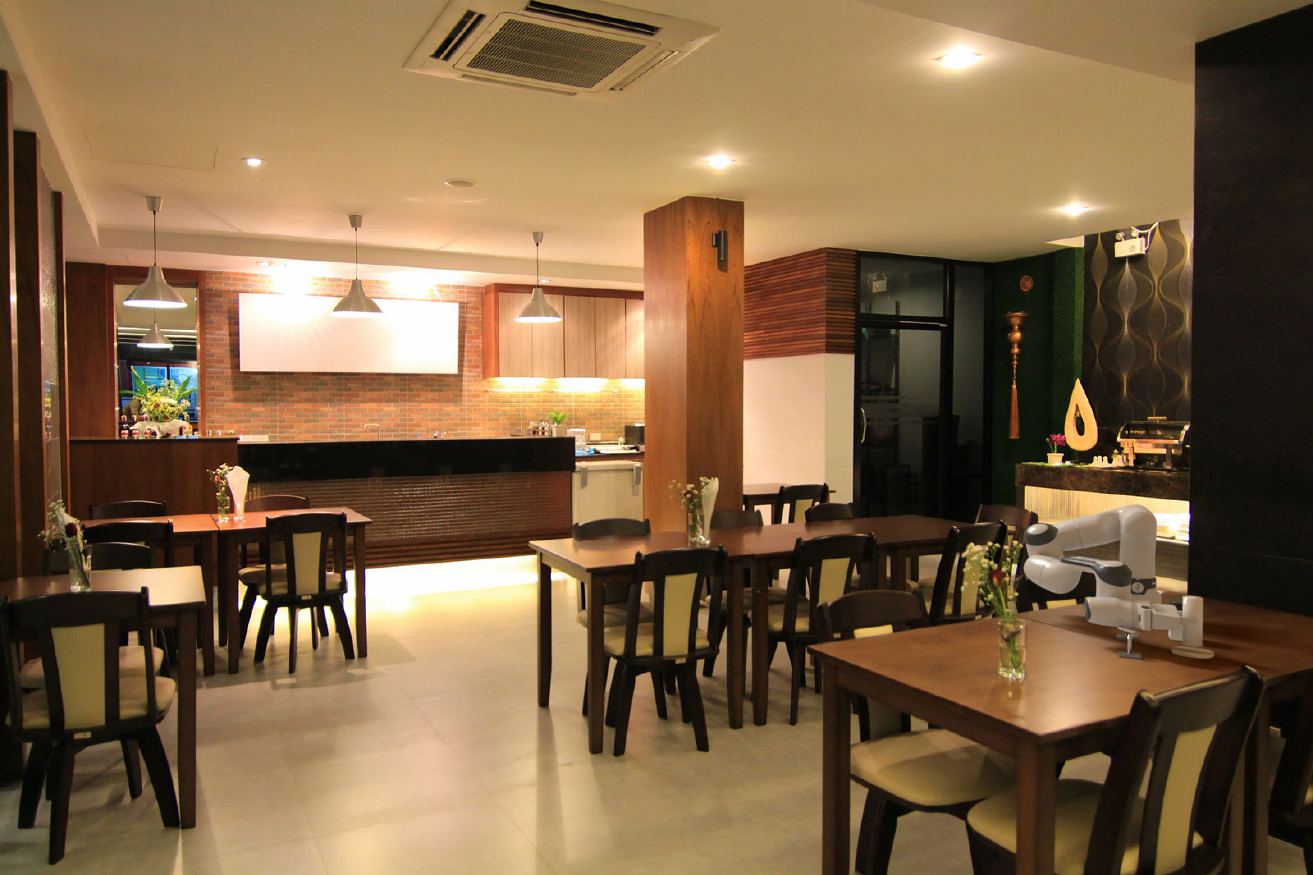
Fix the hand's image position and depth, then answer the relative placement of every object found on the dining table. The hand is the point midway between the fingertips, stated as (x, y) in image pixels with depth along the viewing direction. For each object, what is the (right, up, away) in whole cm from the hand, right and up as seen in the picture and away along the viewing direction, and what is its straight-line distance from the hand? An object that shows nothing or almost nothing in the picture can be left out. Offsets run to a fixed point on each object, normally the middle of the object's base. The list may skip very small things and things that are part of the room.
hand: (1196, 618), depth 268 cm
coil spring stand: (-16, -11, +8) cm, 21 cm away
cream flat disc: (-1, -11, +1) cm, 11 cm away
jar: (+7, -10, +18) cm, 22 cm away
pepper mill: (-1, -8, +1) cm, 8 cm away
